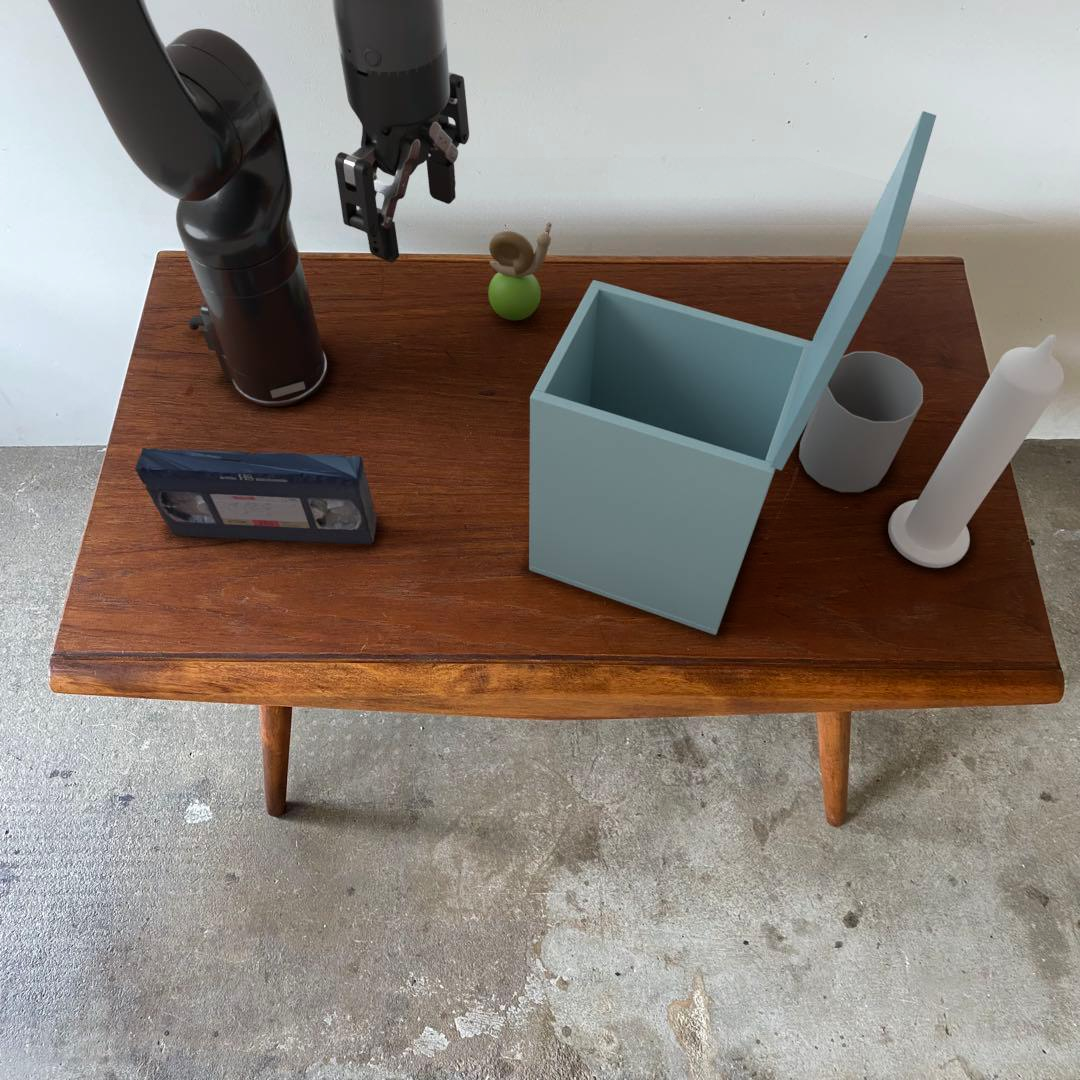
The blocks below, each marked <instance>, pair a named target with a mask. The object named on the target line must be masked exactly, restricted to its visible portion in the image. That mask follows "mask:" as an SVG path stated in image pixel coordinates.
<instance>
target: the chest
mask: <svg viewBox="0 0 1080 1080" xmlns="http://www.w3.org/2000/svg"><path fill="white" fill-rule="evenodd" d="M812 341H813V340H809V339H804V338H801V337H797V336H794V335H790V334H787V333H783V332H780V331H776V330H773V329H769V328H766V327H762V326H758V325H755V324H753V323H747V322H744V321H741V320H737V319H734V318H730V317H726V316H723V315H720V314H716V313H712V312H710V311H705V310H702V309H697V308H695V307H691V306H688V305H684V304H682V303H681V304H680V303H678V302H673V301H670V300H667V299H663V298H659V297H656V296H652V295H649V294H645V293H642V292H638V291H634V290H631V289H628V288H624V287H620V286H617V285H613V284H610V283H607V282H603V281H598V280H596V279H593V280H592V281H591V283H590V285H589V286H588V288H587V290H586V291H585V294H584V295H583V297H582V300H581V301H580V303H579V305H578V307H577V308H576V311H575V312H574V314H573V316H572V318H571V320H570V322H569V324H568V326H567V327H566V328H565V330H564V333H563V335H562V337H561V338H560V340H559V342H558V344H557V345H556V348H555V350H554V352H553V353H552V355H551V357H550V359H549V361H548V363H547V364H546V366H545V368H544V370H543V372H542V374H541V376H540V378H539V380H538V381H537V383H536V385H535V387H534V389H533V390H532V392H531V394H530V396H529V519H528V521H529V528H528V529H529V531H528V532H529V537H528V538H529V540H528V541H529V542H528V543H529V546H528V548H529V549H528V552H529V553H528V554H529V555H528V569H529V571H531V572H534V573H536V574H539V575H542V576H545V577H548V578H550V579H553V580H556V581H560V582H562V583H565V584H567V585H570V586H573V587H576V588H580V589H582V590H585V591H588V592H590V593H593V594H596V595H599V596H602V597H605V598H608V599H611V600H614V601H616V602H620V603H623V604H625V605H628V606H630V607H634V608H637V609H639V610H642V611H645V612H648V613H651V614H654V615H657V616H659V617H661V618H662V617H663V618H665V619H668V620H671V621H674V622H677V623H679V624H682V625H685V626H687V627H690V628H693V629H696V630H700V631H703V632H704V633H708V634H711V635H714V636H716V635H717V634H718V631H719V628H720V625H721V623H722V620H723V617H724V614H725V612H726V609H727V606H728V603H729V600H730V597H731V595H732V592H733V589H734V586H735V583H736V581H737V578H738V575H739V572H740V570H741V567H742V565H743V561H744V559H745V555H746V553H747V551H748V550H747V549H748V547H749V544H750V542H751V539H752V536H753V534H754V531H755V529H756V525H757V522H758V520H759V516H760V513H761V511H762V508H763V506H764V502H765V500H766V497H767V494H768V491H769V489H770V486H771V483H772V481H773V477H774V474H775V473H776V472H775V471H776V470H777V469H776V468H773V467H770V465H771V462H772V459H773V456H774V453H775V450H776V447H777V444H778V441H779V438H780V435H781V432H782V429H783V426H784V423H785V420H786V418H787V415H788V412H789V409H790V406H791V403H792V400H793V397H794V394H795V391H796V388H797V385H798V382H799V379H800V376H801V373H802V370H803V367H804V364H805V361H806V358H807V356H808V353H809V350H810V347H811V344H812Z"/></svg>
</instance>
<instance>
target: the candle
mask: <svg viewBox="0 0 1080 1080" xmlns="http://www.w3.org/2000/svg"><path fill="white" fill-rule="evenodd" d="M1056 341H1057V336H1056V335H1055V334H1052V333H1051V334H1049V335H1048V336H1047V337H1046V338H1045V339H1043V340H1042V342H1040V343H1039V344H1038V345H1037V346H1036V347H1029V346H1019V347H1015V348H1012V349H1009V350H1007V351H1006V352H1005V353H1004V354H1003V355H1002V356H1000V359H999V360H998V362H997V364H996V365H995V367H994V369H993V371H992V373H991V374H990V376H989V377H988V379H987V381H986V383H985V384H984V386H983V387H982V389H981V390H980V393H979V395H978V396H977V398H976V400H975V402H974V403H973V405H972V407H970V410H969V412H968V413H967V415H966V416H965V418H964V420H963V422H962V423H961V425H960V426H959V429H958V431H957V432H956V433H955V436H954V437H953V439H952V441H951V443H950V444H949V446H948V448H947V449H946V451H945V453H944V455H943V456H942V458H941V460H940V461H939V463H938V464H937V466H936V468H935V470H934V471H933V473H932V475H931V476H930V478H929V480H928V482H927V484H926V485H925V487H924V488H923V490H922V492H921V494H920V495H919V497H918V499H912V500H908V501H906V502H904V503H902V504H900V505H899V506H897V508H895V510H894V511H893V512H892V514H891V516H890V517H889V520H888V525H887V530H888V536H889V539H890V542H891V543H892V545H893V546H894V548H895V549H896V550H897V552H898V553H899V554H900V555H902V556H903V557H904V558H905V559H907V560H909V561H910V562H912V563H914V564H916V565H919V566H921V567H926V568H933V569H941V568H948V567H950V566H953V565H955V564H957V563H958V562H959V561H961V560H962V559H963V557H964V556H965V555H966V553H967V552H968V550H969V548H970V544H971V543H970V541H971V538H970V532H969V529H968V526H967V525H968V523H969V522H970V520H971V519H972V517H973V516H974V515H975V513H976V511H977V510H978V509H979V507H980V506H981V504H982V503H983V501H984V500H985V498H986V497H987V495H988V494H989V492H990V491H991V489H993V487H994V485H995V484H996V482H997V481H998V479H999V478H1000V476H1001V475H1002V474H1003V472H1004V471H1005V469H1006V468H1007V466H1008V465H1009V463H1010V462H1011V461H1012V459H1013V457H1014V456H1015V455H1016V453H1017V452H1018V450H1019V449H1020V447H1021V446H1022V444H1023V443H1024V441H1025V440H1026V438H1027V437H1028V436H1029V434H1030V432H1031V431H1032V430H1033V428H1034V427H1035V425H1036V424H1037V422H1038V421H1039V420H1040V418H1041V417H1042V415H1043V413H1044V412H1045V411H1046V409H1047V408H1048V406H1049V405H1050V404H1051V402H1052V400H1053V399H1054V398H1055V396H1056V394H1058V391H1059V390H1060V389H1061V387H1062V386H1063V383H1064V380H1065V374H1064V369H1063V367H1062V365H1061V364H1060V362H1059V361H1058V360H1057V359H1056V358H1055V357H1054V356H1053V351H1054V348H1055V345H1056Z"/></svg>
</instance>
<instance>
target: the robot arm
mask: <svg viewBox="0 0 1080 1080" xmlns="http://www.w3.org/2000/svg"><path fill="white" fill-rule="evenodd" d="M47 2H48V3H49V5H50V7H51V9H52V11H53V12H54V15H55V17H56V18H57V21H58V22H59V24H60V27H61V29H62V30H63V33H64V34H65V36H66V38H67V40H68V43H69V44H70V46H71V48H72V50H73V53H74V55H75V56H76V58H77V61H78V63H79V65H80V67H81V70H82V71H83V73H84V75H85V77H86V79H87V81H88V83H89V85H90V87H91V90H92V92H93V93H94V95H95V97H96V100H97V102H98V104H99V106H100V108H101V110H102V112H103V114H104V115H105V117H106V120H107V121H108V123H109V125H110V127H111V129H112V131H113V133H114V135H115V136H116V138H117V140H118V142H119V143H120V145H121V146H122V148H123V149H124V151H125V152H126V153H127V155H128V156H129V158H130V159H131V161H132V162H133V163H134V165H135V166H136V167H137V168H138V170H140V171H141V172H142V174H143V175H144V176H145V177H146V178H147V179H148V181H150V182H151V183H153V184H154V186H156V187H157V188H158V189H159V190H161V191H162V192H164V193H166V194H167V195H169V196H171V197H173V198H175V199H178V203H177V206H176V212H175V222H176V227H177V231H178V234H179V237H180V240H181V243H182V246H183V248H184V251H185V253H186V255H187V258H188V261H189V263H190V266H191V269H192V272H193V274H194V277H195V279H196V282H197V285H198V287H199V291H200V293H201V295H202V298H203V301H204V302H203V304H202V305H201V306H200V308H199V313H200V315H193V316H192V317H190V318H189V322H188V327H189V329H190V330H192V331H197V330H198V329H199V326H203V327H202V328H201V332H202V335H203V338H204V340H205V342H206V345H207V348H208V350H210V351H212V352H214V353H215V355H216V357H217V360H218V362H219V365H220V367H221V370H222V373H223V376H224V378H225V381H227V382H230V383H232V384H233V386H234V388H235V390H236V391H237V393H238V394H239V395H240V396H241V397H242V398H243V399H244V400H246V401H248V402H249V403H252V404H254V405H257V406H262V407H268V408H279V407H281V408H282V407H286V406H291V405H295V404H298V403H300V402H302V401H304V400H306V399H308V398H309V397H311V396H312V395H314V394H315V393H316V392H317V391H318V390H319V389H320V388H321V387H322V385H323V384H324V383H325V380H326V377H327V375H328V361H327V357H326V354H325V352H324V350H323V345H322V340H321V337H320V332H319V328H318V325H317V324H318V323H317V320H316V317H315V312H314V309H313V304H312V301H311V297H310V291H309V289H308V284H307V280H306V276H305V273H304V269H303V268H304V267H303V264H302V260H301V255H300V252H299V249H298V245H297V240H296V237H295V233H294V229H293V224H292V220H291V215H290V211H291V205H292V199H293V183H292V177H291V172H290V171H291V170H290V165H289V161H288V155H287V149H286V143H285V138H284V132H283V127H282V122H281V118H280V113H279V109H278V106H277V105H278V104H277V103H276V102H277V101H276V98H275V96H274V93H273V90H272V88H271V86H270V84H269V81H268V79H267V77H266V76H265V74H264V72H263V70H262V68H261V67H260V65H259V64H258V62H257V61H256V60H255V59H254V57H253V56H252V55H251V54H250V53H249V52H248V51H247V50H246V48H245V47H243V46H242V44H240V43H239V42H238V41H236V40H235V39H233V38H232V37H230V36H229V35H227V34H225V33H223V32H220V31H218V30H215V29H212V28H207V27H206V28H205V27H198V28H192V29H187V30H185V31H183V32H181V33H179V34H178V35H176V36H175V37H174V38H172V39H171V40H170V41H169V42H168V43H167V44H166V45H165V43H164V42H163V40H162V37H161V35H160V33H159V31H158V29H157V27H156V24H155V22H154V20H153V18H152V15H151V12H150V9H149V7H148V4H147V2H146V0H47ZM444 5H445V4H444V0H331V6H332V14H333V21H334V27H335V31H336V33H335V34H336V38H337V44H338V51H339V56H340V61H341V68H342V69H341V70H342V74H343V79H344V86H345V92H346V96H347V101H348V104H349V106H350V108H351V109H352V111H353V112H354V114H355V115H356V117H357V119H358V121H359V122H360V124H361V127H362V128H361V129H362V131H361V141H360V147H359V148H358V149H357V150H355V151H354V152H353V153H352V154H348V153H346V152H343V151H340V152H339V153H337V155H336V156H335V159H334V167H335V173H336V180H337V187H338V193H339V201H340V207H341V214H342V221H343V224H344V225H346V226H347V227H351V228H354V229H357V230H359V231H362V232H364V233H365V234H366V236H367V241H368V247H369V252H370V253H371V255H372V256H375V257H376V258H378V259H382V260H383V261H386V262H388V263H391V264H393V263H395V262H396V260H398V259H399V257H400V250H399V244H398V237H397V229H396V222H395V221H393V220H394V217H395V213H396V208H397V204H398V201H400V200H402V199H403V198H405V196H406V193H407V189H408V185H409V180H410V176H412V175H413V174H414V172H415V171H416V169H418V166H420V165H422V164H423V163H425V162H426V171H427V180H428V190H429V195H430V196H431V198H433V199H434V200H437V201H439V202H442V203H444V204H446V205H450V204H451V203H453V201H454V200H455V199H456V198H457V197H456V173H455V171H456V169H455V162H457V159H458V158H459V157H458V156H459V149H458V148H459V145H460V144H461V145H466V144H467V143H468V141H469V139H470V126H469V116H468V105H467V95H466V85H465V77H464V76H463V75H459V74H457V73H454V72H451V71H449V70H450V69H449V57H448V56H449V55H448V43H447V33H446V18H445V16H446V15H445V6H444ZM450 118H451V119H452V120H453V121H454V124H453V123H451V122H450ZM378 169H379V170H380V171H381V172H382V173H384V174H387V175H388V176H392V177H394V179H393V182H392V183H387V182H384V181H383V180H380V179H379V178H378V175H377V172H378ZM378 193H380V194H382V195H383V202H382V206H381V208H379V207H378V206H377V198H376V197H377V194H378ZM357 208H358V209H357Z"/></svg>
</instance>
